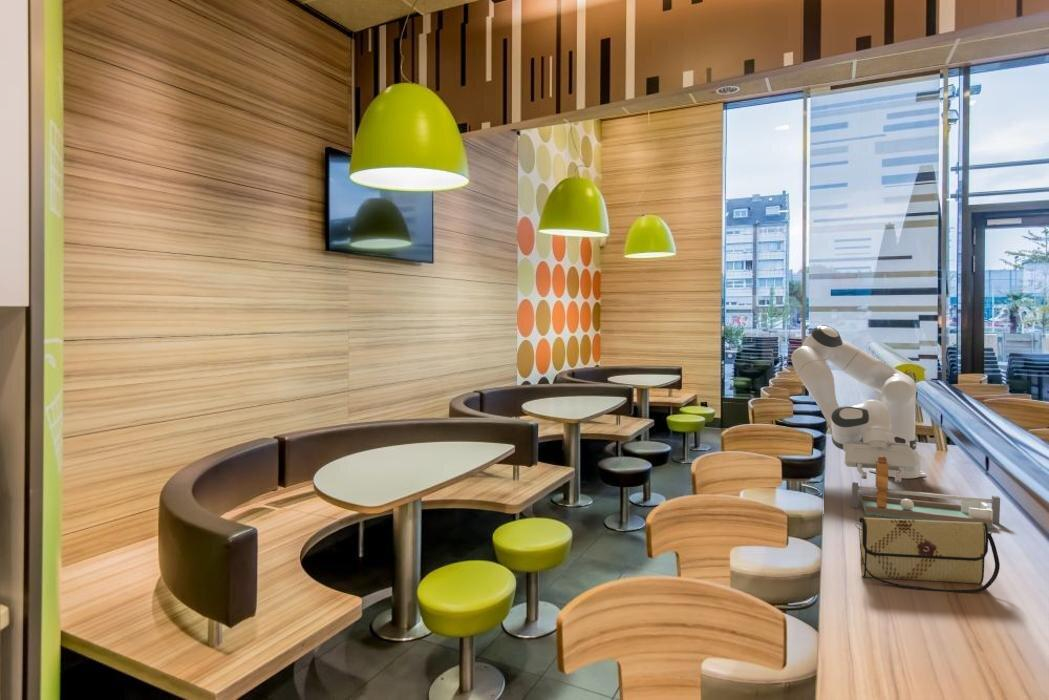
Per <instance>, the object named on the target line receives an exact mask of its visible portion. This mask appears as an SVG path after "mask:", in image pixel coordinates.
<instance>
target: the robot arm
mask: <svg viewBox="0 0 1049 700" xmlns="http://www.w3.org/2000/svg"><path fill="white" fill-rule="evenodd" d="M790 359H791V364H792V366H793V369H794V372H795V373H796V375H797V377H799V380H800V381H801V382H802V385H803V387H805V389H806V390H807V391H808V393H809V394H810V396H811V398H812V399H813V400H814V402H815V403H816V405H817V406H818V408H819V410H820V412H821V414H822V415H823V417H824V420H825V421H826V423H827V424H828V427H829V429H830V431H831V442H832V444H833V446H835V447H836V448H838V449H840V450H843V452H845V453H844V462H843V463H844V465H845V466H846V467H850V468H856V471H857V472H858V473H859V474H860V478H861V480H862V479H863V480H867V478H868V477H867V476H868V475H867V473H868V472H867V471H864V470H863V469H869V470H868V471H869V472H870V473H874V474H876V461H878V457H879V456H884V457H886V459H887V461H886V462H887V463H888V478H894V481H895V482H896V483H901V482H902V479H916V478H923V477H927V474H926V472H925V471H922V463H921V461H922V460H921V454H920V453H919V452H918V451H917V450H916V449H917V439H916V407H917V406H916V404H917V403H916V400H917V385H916V382H915V380H914V379H913V378H912V377H911V376H909V375H908V374H906V373H904V372H903V371H900V370H898V369H897V368H895V367H893V366H892V365H890V364H887V363H886V362H884V361H882V360H880V359H878V358H877V357H875V356H873V355H871V354H870V353H868V352H867V351H866V350H863V349H861V348H859V347H858V346H856V345H854V344H852V343H851V342H848V341H845V340H843V339H842V336H841V335H840V333H839V332H838V330H836V329H835V328H834V327H831V326H829V325H826V324H822V325H820V324H819V325H818V326H816V327H815V328H813V329H812V330H811V333H810V334H808V336H807V337H806V339H804V341H803V342H802V345H801V346H800V347H798V348H796V349H795V350H794V351H793V352H792V353H791V356H790ZM827 362H830V363H831V364H832V365H833V366H835V367H836V368H837V369H839V370H840V371H842V372H844V373H845V374H846V375H849V376H850V377H851V378H853V379H855V380H856V381H858V383H861V384H863V385H866V386H868V387H870V388H872V389H873V390H875V391H876V392H878V393H880V394H881V396H880V397H881V400H877V399H868V400H867V399H866V400H865V401H863V402H861V403H859V404H857V405H851V406H848V405H847V406H846V405H843V406H839V404H838V401H837V396H836V390H835V389H836V387H835V378H834V375H833V372H832V370H831V368H830V366H829V364H828V363H827Z"/></svg>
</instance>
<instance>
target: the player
mask: <svg viewBox="0 0 1049 700" xmlns="http://www.w3.org/2000/svg"><path fill="white" fill-rule="evenodd" d="M886 461H887V459H886V457H884V456H879V457H878V461H876V473H875V488H878V492H875V493H876V494H875V495H876V504H877V506H878V507H884V508H887V497H888V496H887V495H888V493H887V489H889V476H888V463H887V462H886Z"/></svg>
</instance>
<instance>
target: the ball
mask: <svg viewBox="0 0 1049 700" xmlns="http://www.w3.org/2000/svg"><path fill="white" fill-rule="evenodd" d="M902 499H903V500H901V502H900V505H901V507H902V508H903V509H905V510H911V509H913V507H914V503H913V502H912V501H911V500H912V499H910V498H902Z"/></svg>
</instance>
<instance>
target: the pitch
mask: <svg viewBox="0 0 1049 700" xmlns="http://www.w3.org/2000/svg"><path fill="white" fill-rule="evenodd" d="M851 485H852V486H851V508H853V509H859V491H863V492H874V493H876V492H878V488H877V487H869V486H861V485H860V486H859V482H854V481H853V482H852V483H851ZM887 494H894V495H905V496H915V497H925V498H933V499H934V498H935V499H943V500H945V499H946V500H954V501H955V500H956V501H960V504H955V503H946V502H945V503H944V502H936V501H935V502H934V501H928V500H927V501H925V500H916V499H910V500H911V501H912V502H913V503H914V507H913V509H911V510H905V509H903V508H902V507H901V505H900V502H901V500H903V499H904V498H897V497H888V496H887V508H884V507H878V506H877V504H876V496H875V495H868V494H866V495H865V494H861V495H860V496H861V498H860V501H861V502H862V503H861V504H862V508H863V511H864V514H865V515H866V516H873V515H875V516H874V517H882V516H884V518H890V517H891V518H890V519H911V520H934V521H958V522H984V523H986V524H987V527H988V530H992V529H993V524H995V525H1000V516H1001V515H1000V514H1001V513H1000V511H1001V497H1000V496H997V495H991V498H984V497H972V496H963V495H953V494H942V493H941V494H940V493H933V492H922V491H910V490H900V489H891V488H888V489H887ZM988 504H991V507H990V506H989V505H988Z"/></svg>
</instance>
